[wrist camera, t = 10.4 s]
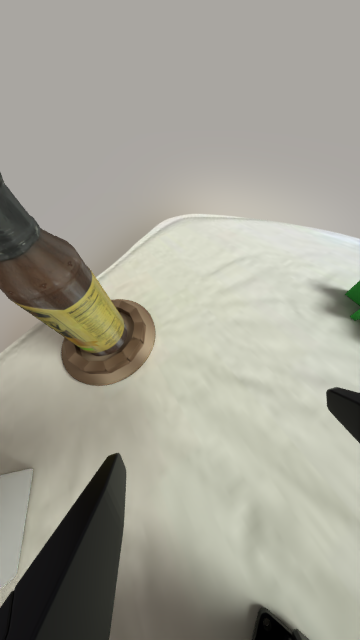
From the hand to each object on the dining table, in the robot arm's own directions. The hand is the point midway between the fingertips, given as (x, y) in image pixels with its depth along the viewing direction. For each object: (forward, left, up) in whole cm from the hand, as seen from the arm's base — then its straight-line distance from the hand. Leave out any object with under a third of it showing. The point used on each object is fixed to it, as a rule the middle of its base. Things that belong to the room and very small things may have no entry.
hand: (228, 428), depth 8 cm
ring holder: (+3, +17, -14) cm, 22 cm away
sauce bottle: (+3, +17, -13) cm, 22 cm away
